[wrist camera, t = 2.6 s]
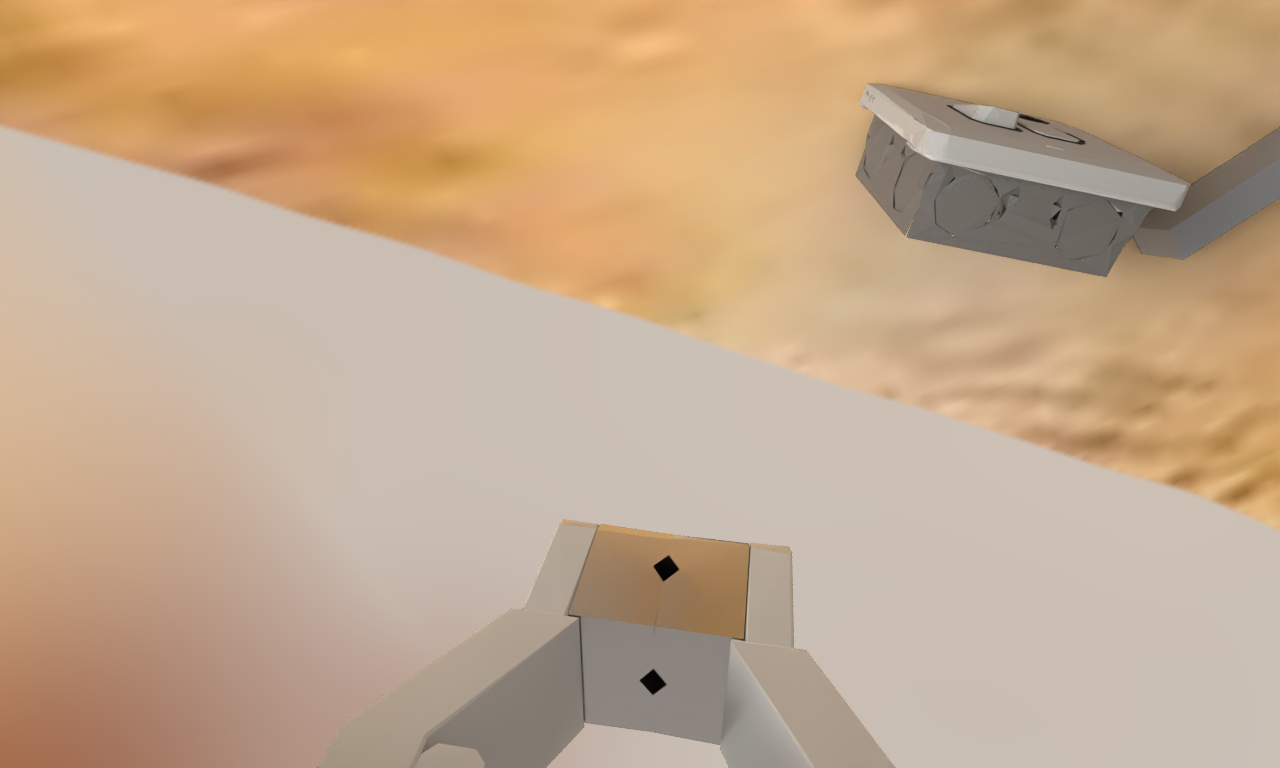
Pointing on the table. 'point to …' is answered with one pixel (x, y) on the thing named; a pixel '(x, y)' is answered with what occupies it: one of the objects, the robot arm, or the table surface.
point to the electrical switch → (1006, 181)
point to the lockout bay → (1215, 202)
